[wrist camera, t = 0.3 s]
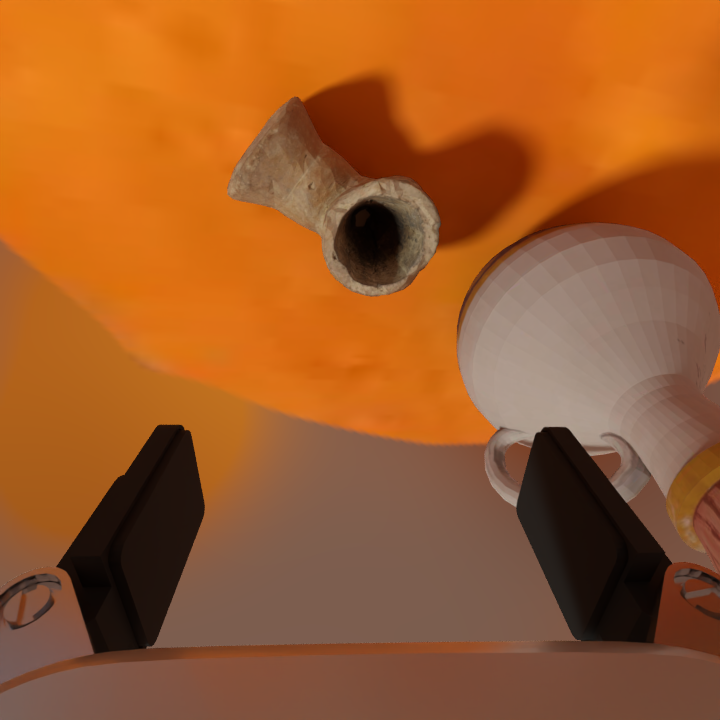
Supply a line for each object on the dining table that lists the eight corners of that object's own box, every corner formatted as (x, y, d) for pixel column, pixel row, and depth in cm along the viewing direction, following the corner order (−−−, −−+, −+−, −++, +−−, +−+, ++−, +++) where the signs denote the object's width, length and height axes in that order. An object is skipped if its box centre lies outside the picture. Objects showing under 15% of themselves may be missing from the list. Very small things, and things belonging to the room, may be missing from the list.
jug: (492, 413, 48) (672, 747, 22) (383, 312, 42) (448, 603, 16) (648, 295, 42) (1163, 557, 16) (547, 157, 36) (1111, 199, 10)
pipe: (284, 84, 33) (262, 62, 24) (443, 205, 38) (472, 224, 29) (232, 186, 37) (196, 200, 28) (384, 286, 41) (394, 326, 32)
